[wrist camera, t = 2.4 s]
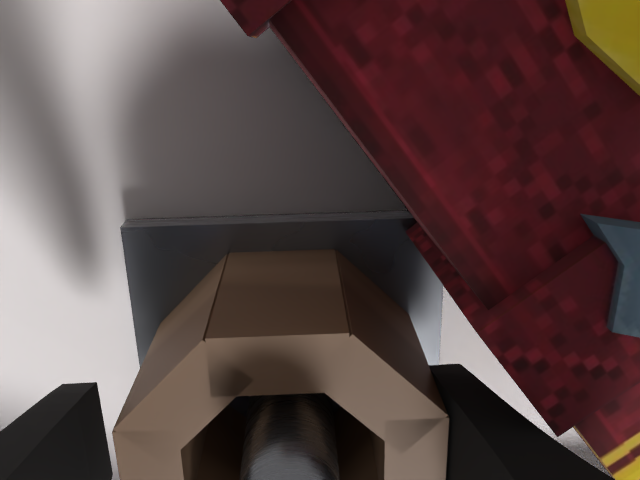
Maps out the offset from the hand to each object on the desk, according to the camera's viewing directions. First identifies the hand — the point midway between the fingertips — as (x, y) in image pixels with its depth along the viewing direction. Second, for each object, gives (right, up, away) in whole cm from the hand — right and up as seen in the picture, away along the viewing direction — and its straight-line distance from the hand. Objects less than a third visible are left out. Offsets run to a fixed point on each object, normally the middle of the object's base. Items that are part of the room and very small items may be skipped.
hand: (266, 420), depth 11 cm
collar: (0, +1, +2) cm, 2 cm away
